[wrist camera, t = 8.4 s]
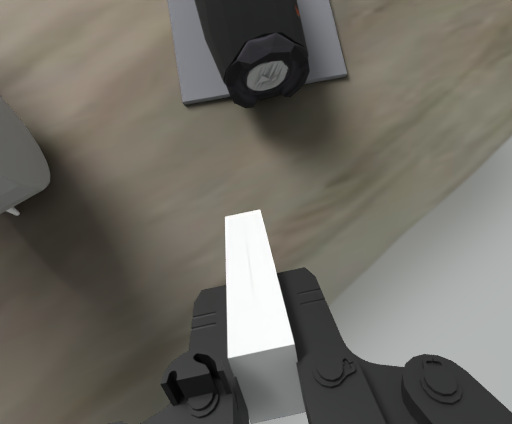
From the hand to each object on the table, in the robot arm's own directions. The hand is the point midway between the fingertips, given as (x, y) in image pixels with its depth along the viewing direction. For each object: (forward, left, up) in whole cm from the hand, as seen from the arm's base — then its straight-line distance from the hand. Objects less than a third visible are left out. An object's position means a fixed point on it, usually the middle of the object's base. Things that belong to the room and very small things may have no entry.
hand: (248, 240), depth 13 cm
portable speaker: (-10, +10, -12) cm, 19 cm away
